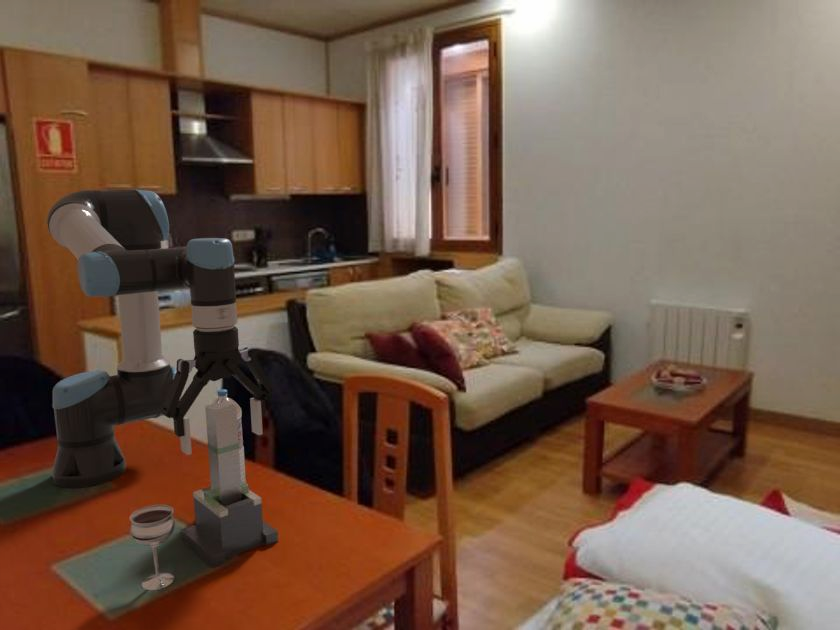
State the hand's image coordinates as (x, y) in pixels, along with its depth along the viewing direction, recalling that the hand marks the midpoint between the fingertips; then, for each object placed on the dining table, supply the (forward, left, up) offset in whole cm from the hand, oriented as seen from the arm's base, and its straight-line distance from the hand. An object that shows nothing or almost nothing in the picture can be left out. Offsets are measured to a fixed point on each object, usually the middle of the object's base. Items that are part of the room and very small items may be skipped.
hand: (223, 442), depth 117 cm
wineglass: (+4, -15, -19) cm, 25 cm away
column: (0, 0, -13) cm, 13 cm away
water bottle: (-12, +6, -19) cm, 24 cm away
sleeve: (0, 0, -19) cm, 19 cm away
